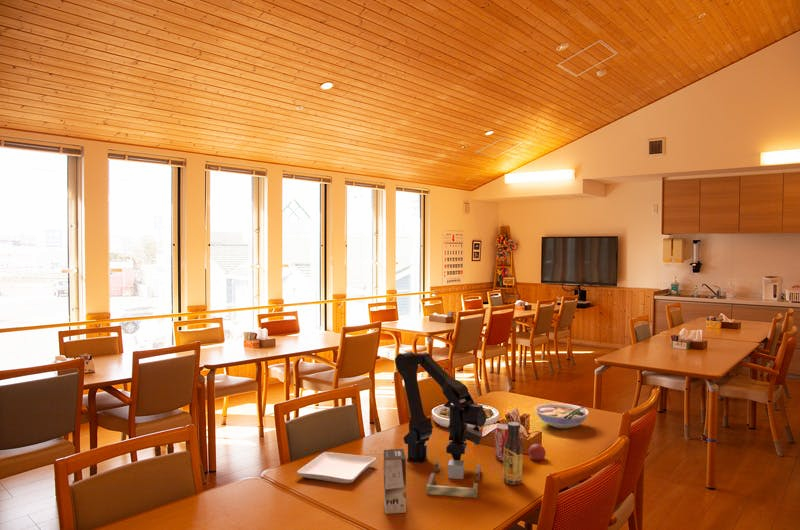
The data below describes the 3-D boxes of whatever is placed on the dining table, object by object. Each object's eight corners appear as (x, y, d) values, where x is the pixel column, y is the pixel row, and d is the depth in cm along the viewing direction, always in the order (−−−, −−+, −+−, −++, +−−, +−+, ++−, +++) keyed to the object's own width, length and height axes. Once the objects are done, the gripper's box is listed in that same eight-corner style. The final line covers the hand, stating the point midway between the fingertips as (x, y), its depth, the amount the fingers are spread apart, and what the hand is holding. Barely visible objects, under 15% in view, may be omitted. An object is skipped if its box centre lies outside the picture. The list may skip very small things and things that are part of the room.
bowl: (504, 432, 244) (504, 414, 244) (433, 432, 245) (433, 414, 244) (493, 413, 274) (493, 396, 274) (430, 413, 275) (430, 396, 274)
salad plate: (295, 480, 194) (295, 470, 194) (324, 459, 214) (324, 450, 214) (352, 489, 187) (352, 479, 186) (377, 466, 206) (377, 457, 206)
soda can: (514, 462, 209) (514, 429, 208) (494, 461, 210) (494, 428, 210) (514, 455, 216) (514, 424, 215) (495, 454, 217) (495, 423, 217)
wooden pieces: (426, 493, 182) (426, 486, 182) (435, 468, 204) (435, 461, 204) (476, 497, 179) (476, 489, 179) (480, 471, 201) (480, 464, 201)
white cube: (448, 478, 195) (448, 464, 194) (449, 472, 199) (449, 459, 199) (462, 479, 194) (462, 465, 194) (464, 473, 199) (464, 460, 198)
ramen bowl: (547, 415, 268) (547, 398, 268) (596, 424, 255) (596, 405, 255) (525, 429, 248) (525, 410, 248) (577, 439, 235) (577, 419, 234)
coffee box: (406, 513, 168) (406, 459, 168) (384, 514, 168) (384, 459, 168) (403, 499, 178) (403, 448, 177) (383, 500, 177) (382, 449, 177)
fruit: (527, 462, 214) (520, 446, 211) (536, 452, 217) (529, 436, 214) (541, 467, 209) (534, 451, 206) (549, 456, 212) (542, 440, 210)
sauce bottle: (499, 480, 192) (499, 421, 192) (515, 477, 195) (515, 419, 194) (510, 487, 186) (510, 426, 186) (526, 484, 189) (526, 424, 188)
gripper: (479, 430, 189) (479, 477, 190) (481, 414, 208) (482, 457, 208) (446, 428, 191) (446, 475, 192) (451, 413, 210) (451, 455, 210)
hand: (457, 465), depth 200 cm, fingers closed
